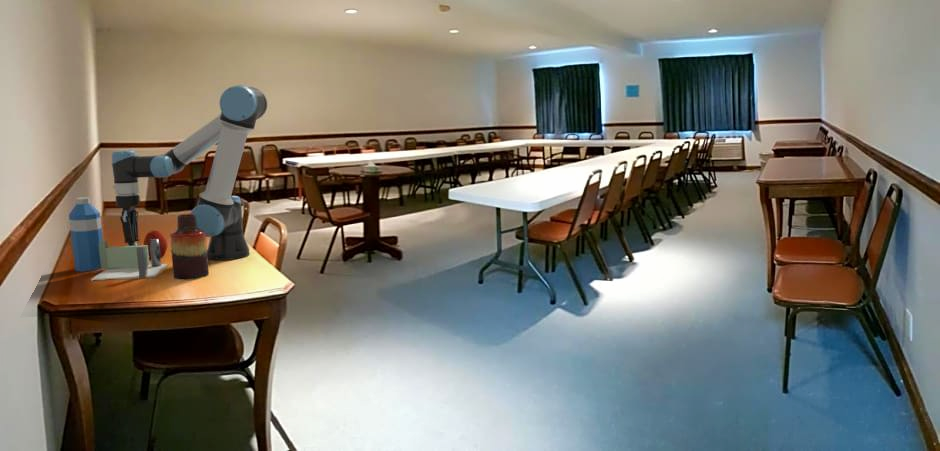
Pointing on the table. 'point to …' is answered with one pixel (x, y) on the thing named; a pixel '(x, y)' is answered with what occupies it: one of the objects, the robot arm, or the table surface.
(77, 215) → the water bottle
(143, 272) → the stop post
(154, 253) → the hinge post
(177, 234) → the vase
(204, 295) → the table surface
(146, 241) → the apple
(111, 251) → the gate
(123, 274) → the board
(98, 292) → the table surface
